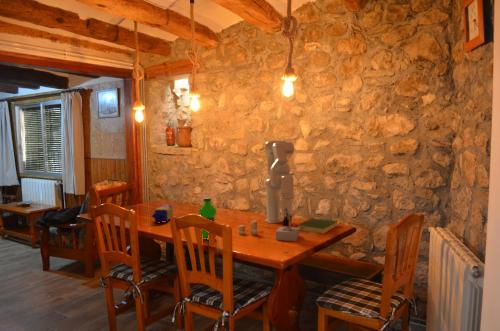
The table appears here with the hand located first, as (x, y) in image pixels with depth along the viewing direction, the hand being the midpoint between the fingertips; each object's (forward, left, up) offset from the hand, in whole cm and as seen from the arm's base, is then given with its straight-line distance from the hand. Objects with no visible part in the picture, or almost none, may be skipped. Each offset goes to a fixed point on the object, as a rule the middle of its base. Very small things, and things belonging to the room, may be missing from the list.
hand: (287, 224), depth 226 cm
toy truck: (-27, -99, -9) cm, 103 cm away
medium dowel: (-3, -22, -8) cm, 24 cm away
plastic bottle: (+14, -46, -8) cm, 49 cm away
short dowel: (-3, -30, -8) cm, 31 cm away
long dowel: (0, 0, -8) cm, 8 cm away
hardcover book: (-29, +15, -9) cm, 34 cm away
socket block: (0, 0, -8) cm, 8 cm away
